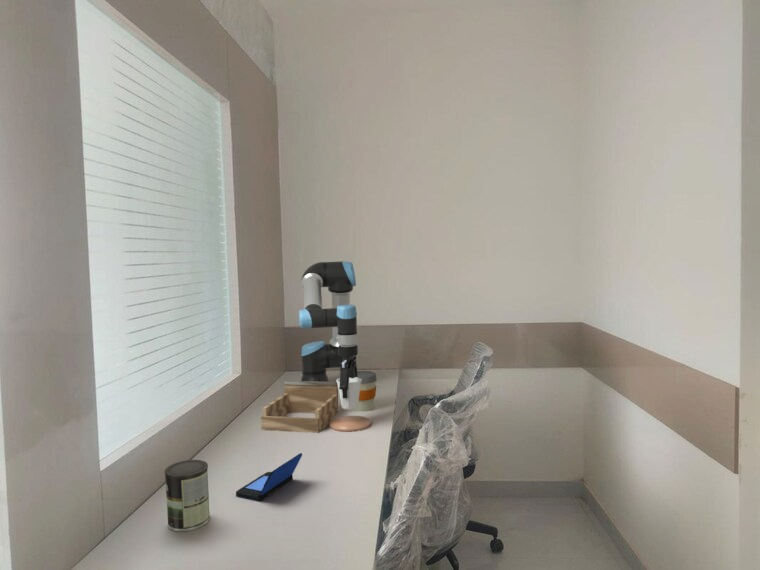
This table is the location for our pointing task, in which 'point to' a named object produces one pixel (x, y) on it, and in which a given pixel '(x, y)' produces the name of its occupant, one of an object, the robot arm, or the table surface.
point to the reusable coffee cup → (366, 390)
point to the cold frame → (302, 407)
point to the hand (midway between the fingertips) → (349, 402)
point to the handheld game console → (269, 481)
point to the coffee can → (187, 495)
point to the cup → (351, 392)
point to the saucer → (350, 423)
